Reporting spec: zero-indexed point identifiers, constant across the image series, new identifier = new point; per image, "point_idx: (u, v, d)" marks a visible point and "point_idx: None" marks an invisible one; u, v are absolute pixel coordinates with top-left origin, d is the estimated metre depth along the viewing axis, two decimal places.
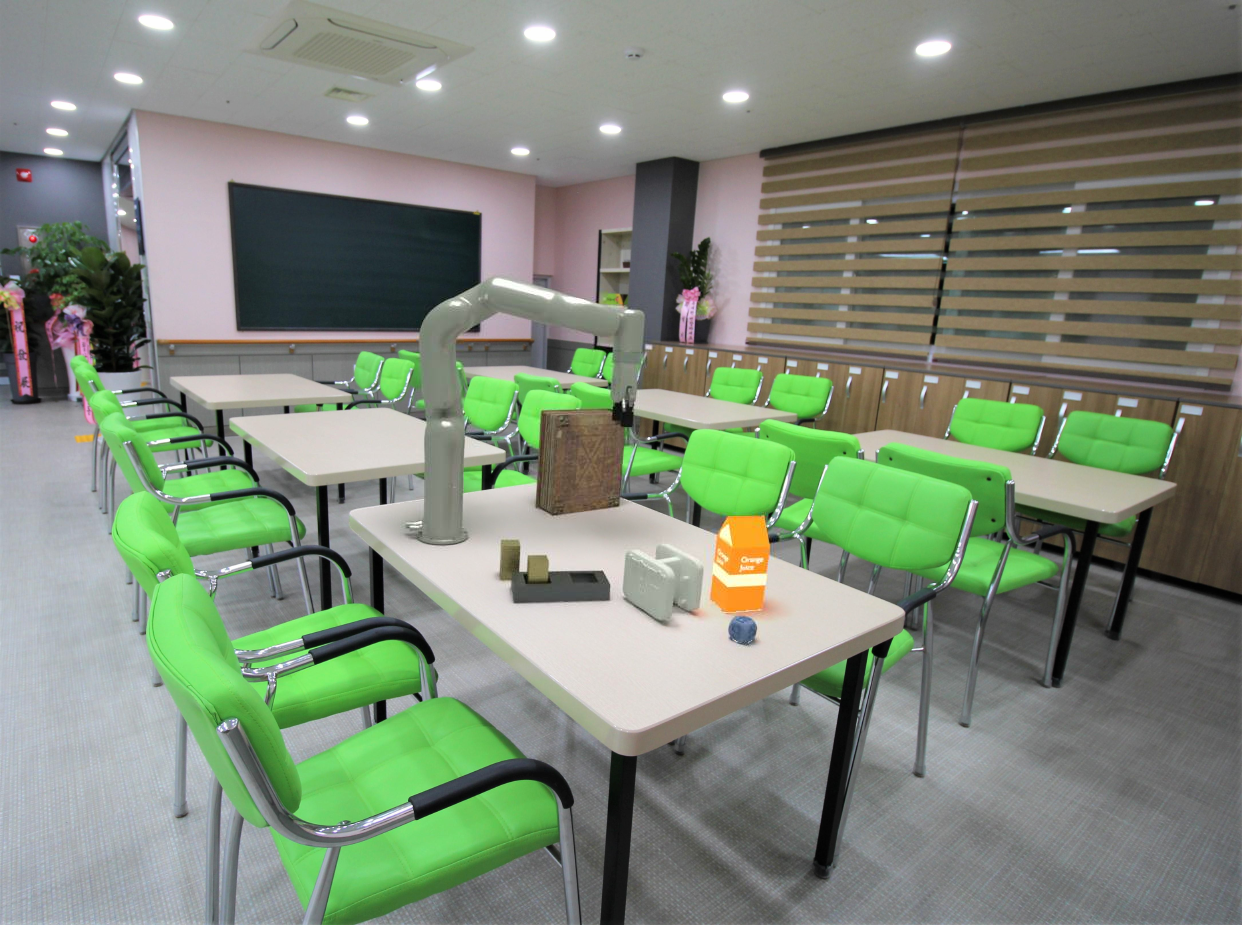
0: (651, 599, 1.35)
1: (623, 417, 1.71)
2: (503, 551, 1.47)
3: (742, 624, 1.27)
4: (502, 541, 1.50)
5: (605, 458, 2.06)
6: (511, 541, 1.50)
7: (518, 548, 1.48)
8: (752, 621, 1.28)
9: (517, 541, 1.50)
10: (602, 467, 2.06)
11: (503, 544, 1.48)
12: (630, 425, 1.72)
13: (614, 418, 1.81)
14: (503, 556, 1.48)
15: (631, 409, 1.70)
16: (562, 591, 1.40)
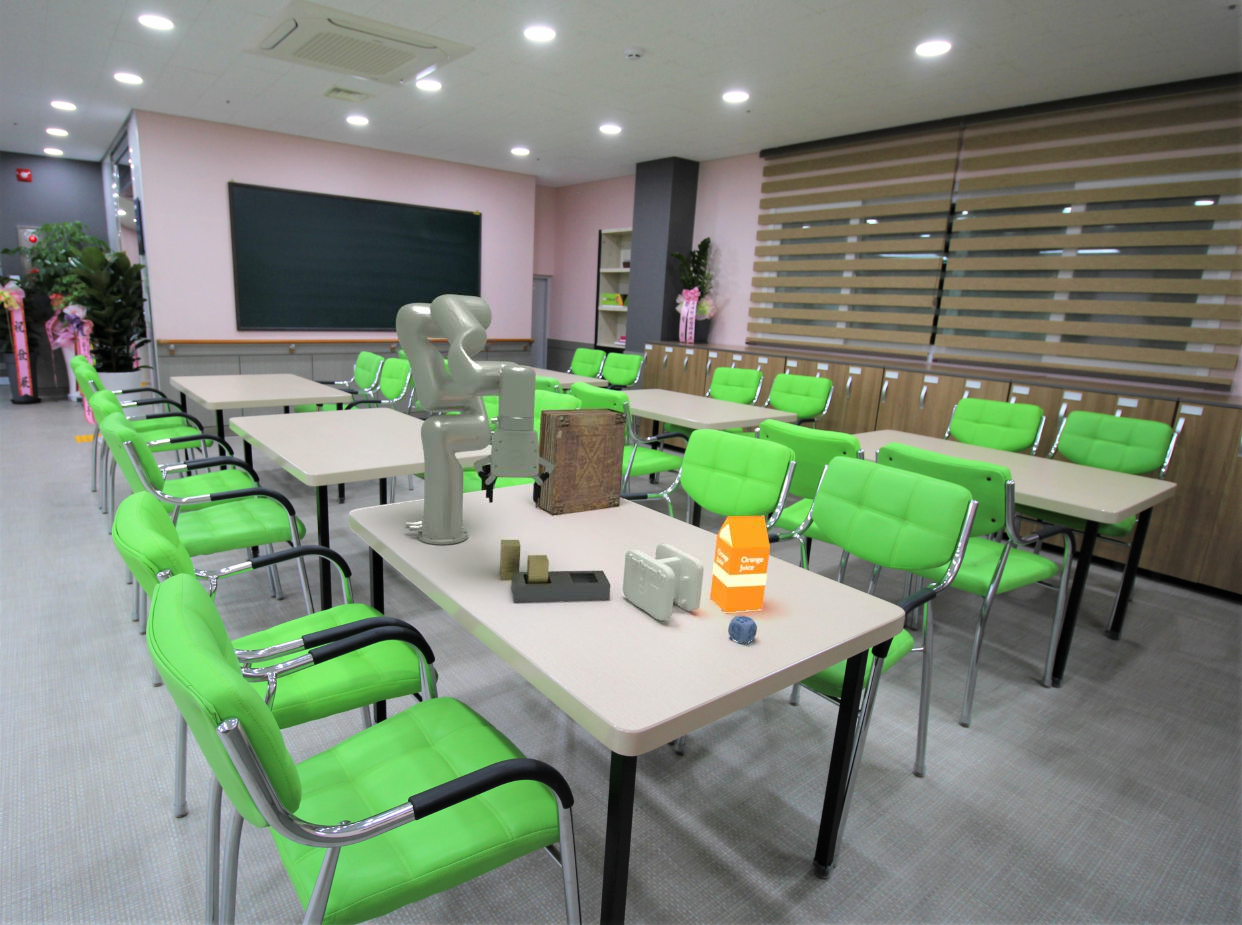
0: (651, 599, 1.35)
1: (537, 491, 1.47)
2: (503, 551, 1.47)
3: (742, 624, 1.27)
4: (502, 541, 1.50)
5: (605, 458, 2.06)
6: (511, 541, 1.50)
7: (518, 548, 1.48)
8: (752, 621, 1.28)
9: (517, 541, 1.51)
10: (602, 467, 2.06)
11: (503, 544, 1.48)
12: None
13: (492, 499, 1.45)
14: (503, 556, 1.48)
15: None
16: (562, 591, 1.40)
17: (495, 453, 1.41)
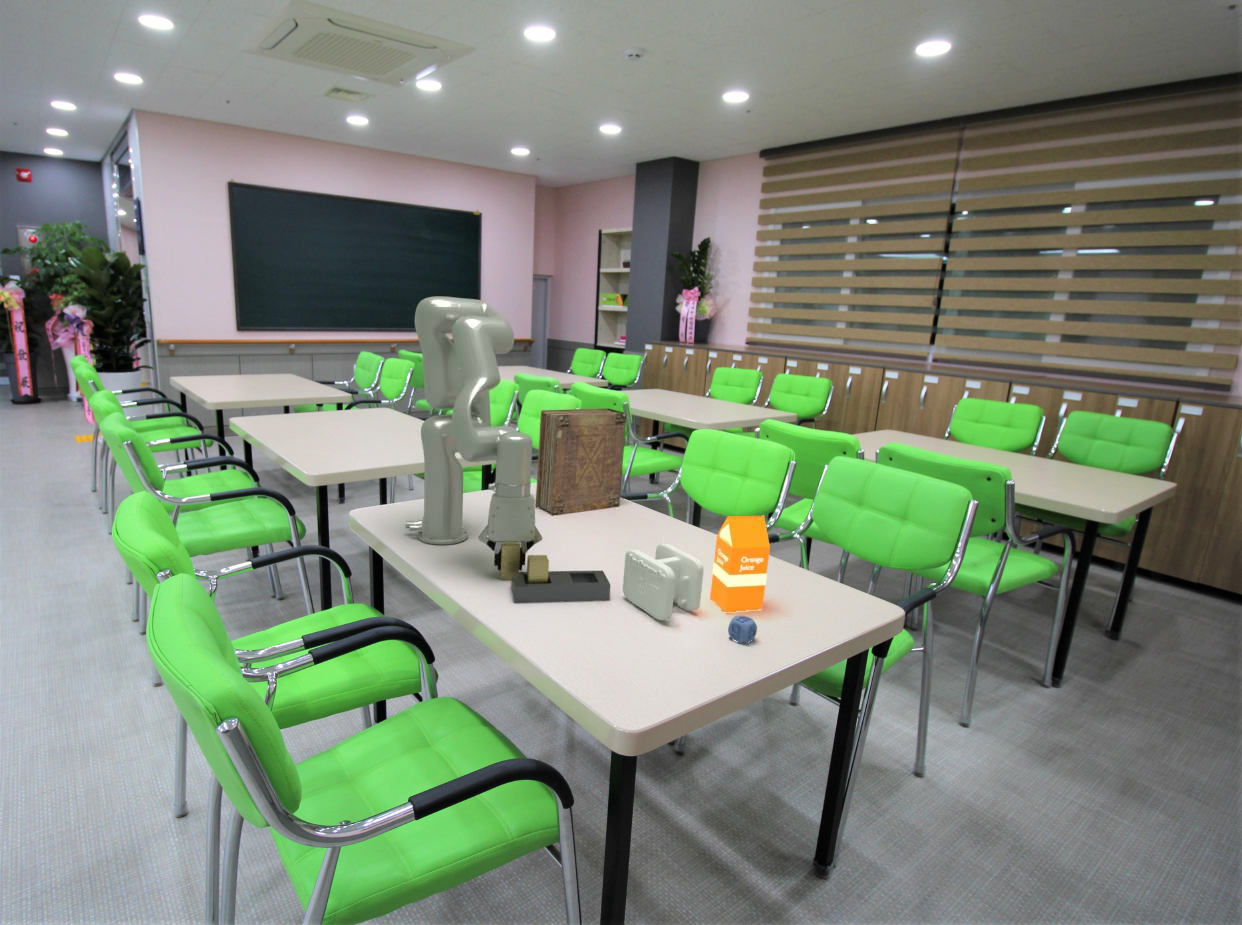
0: (651, 599, 1.35)
1: None
2: (503, 551, 1.47)
3: (742, 624, 1.27)
4: None
5: (605, 458, 2.06)
6: None
7: (518, 548, 1.48)
8: (752, 621, 1.28)
9: None
10: (602, 467, 2.06)
11: (503, 544, 1.48)
12: None
13: None
14: (503, 556, 1.48)
15: None
16: (562, 591, 1.40)
17: (492, 519, 1.45)
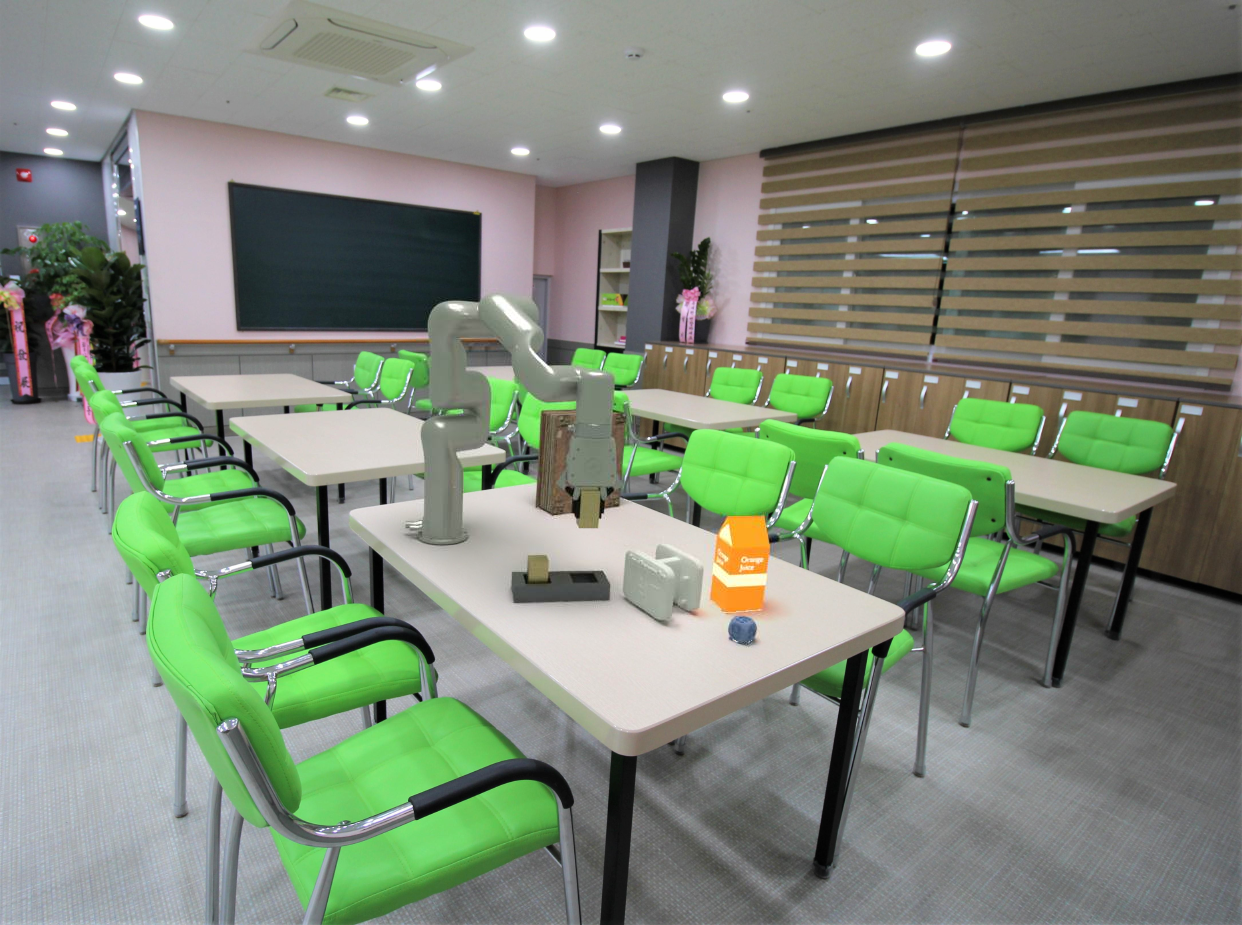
0: (651, 598, 1.35)
1: (601, 506, 1.41)
2: (582, 497, 1.38)
3: (742, 624, 1.27)
4: None
5: None
6: (590, 487, 1.41)
7: (598, 494, 1.39)
8: (752, 621, 1.28)
9: (596, 487, 1.41)
10: None
11: (582, 490, 1.39)
12: None
13: None
14: (582, 502, 1.38)
15: None
16: (562, 591, 1.40)
17: (572, 462, 1.35)
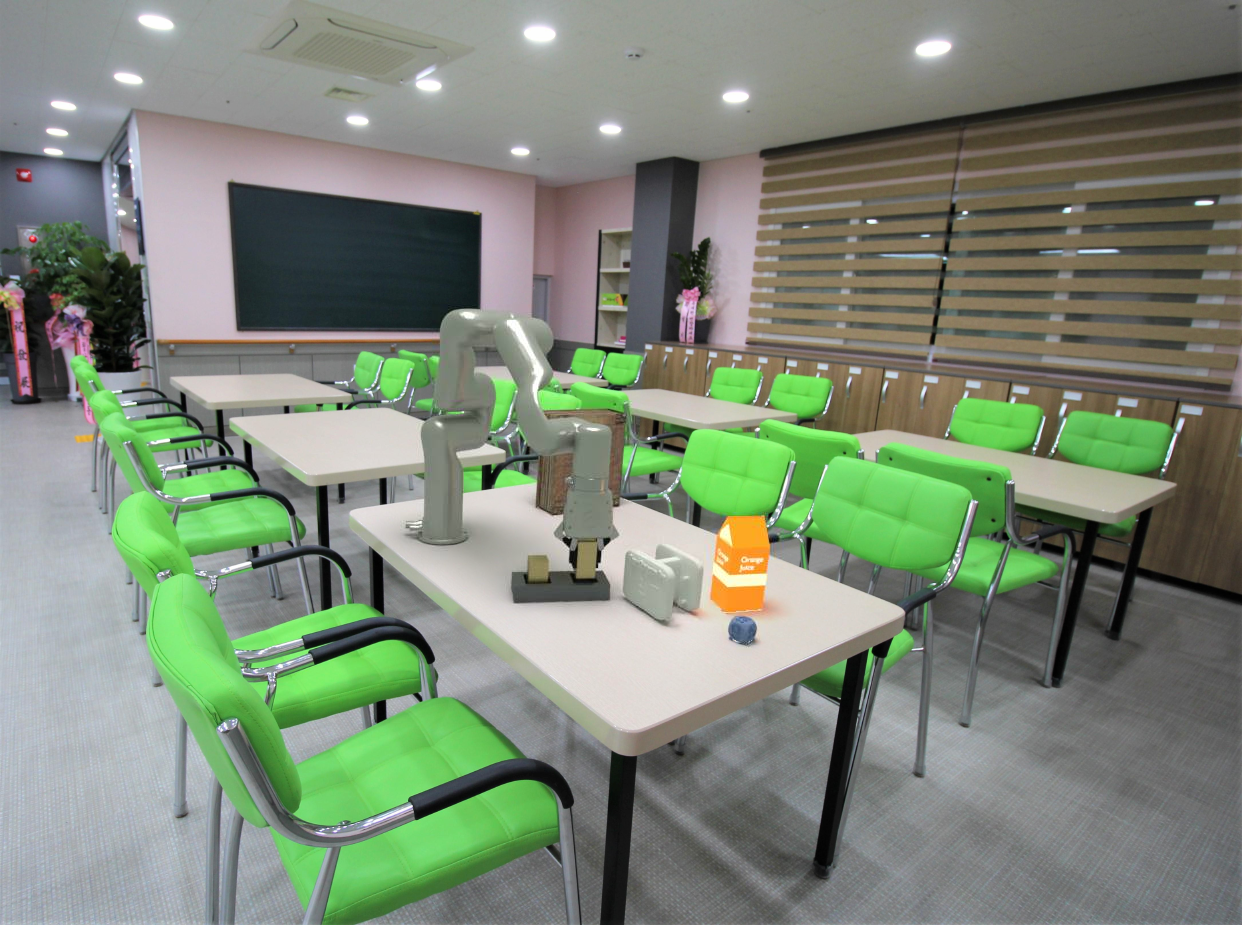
0: (651, 598, 1.35)
1: (598, 556, 1.43)
2: (579, 548, 1.40)
3: (742, 624, 1.27)
4: None
5: None
6: None
7: (595, 545, 1.41)
8: (752, 621, 1.28)
9: None
10: None
11: (579, 541, 1.41)
12: None
13: (576, 565, 1.42)
14: (579, 553, 1.41)
15: None
16: (562, 591, 1.40)
17: (570, 514, 1.38)
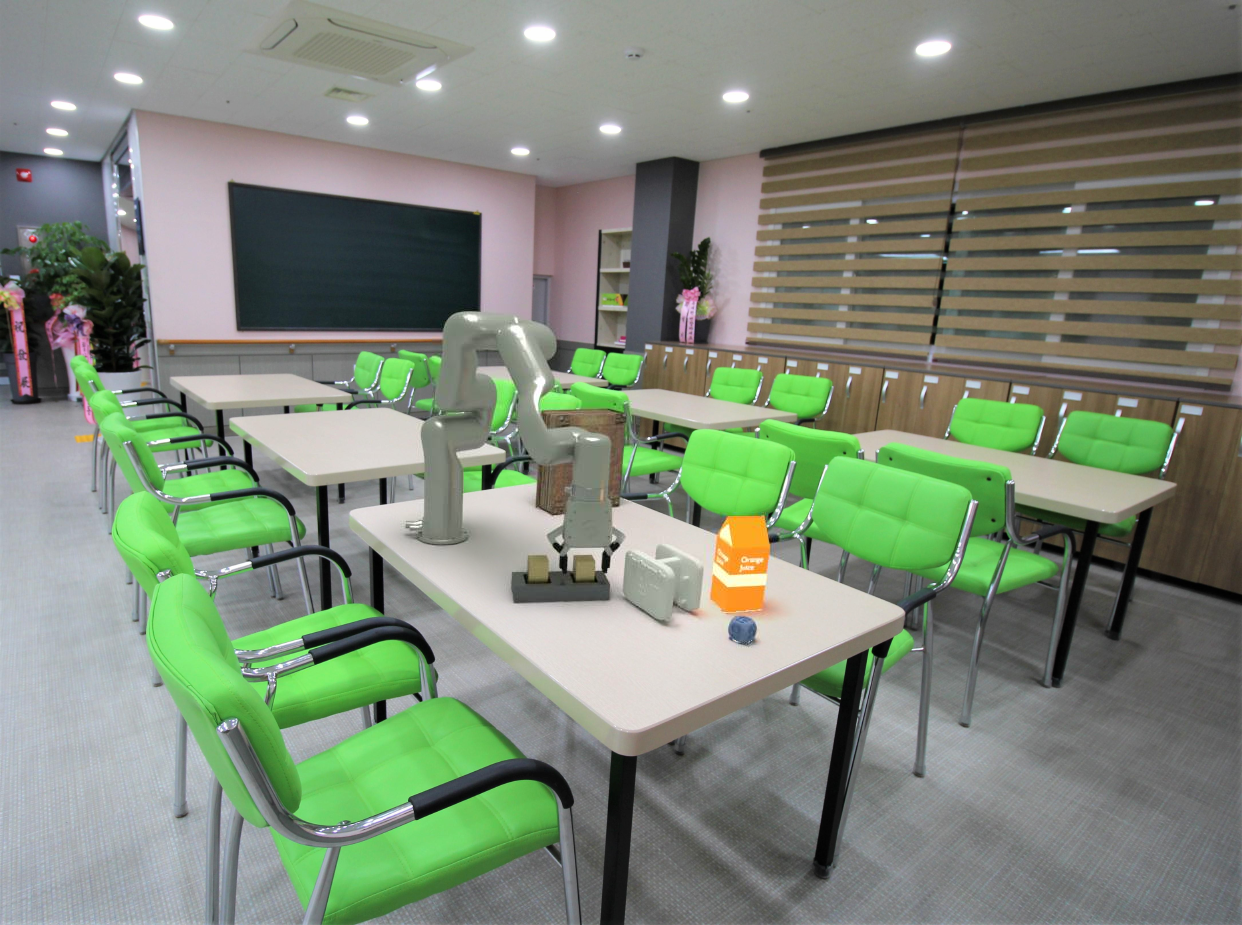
0: (651, 598, 1.35)
1: (607, 561, 1.44)
2: (578, 567, 1.41)
3: (742, 624, 1.27)
4: (575, 556, 1.44)
5: None
6: (585, 557, 1.44)
7: (593, 564, 1.42)
8: (752, 621, 1.28)
9: (590, 556, 1.45)
10: None
11: (577, 560, 1.42)
12: None
13: (566, 570, 1.42)
14: (578, 572, 1.42)
15: None
16: (562, 591, 1.40)
17: (569, 524, 1.38)
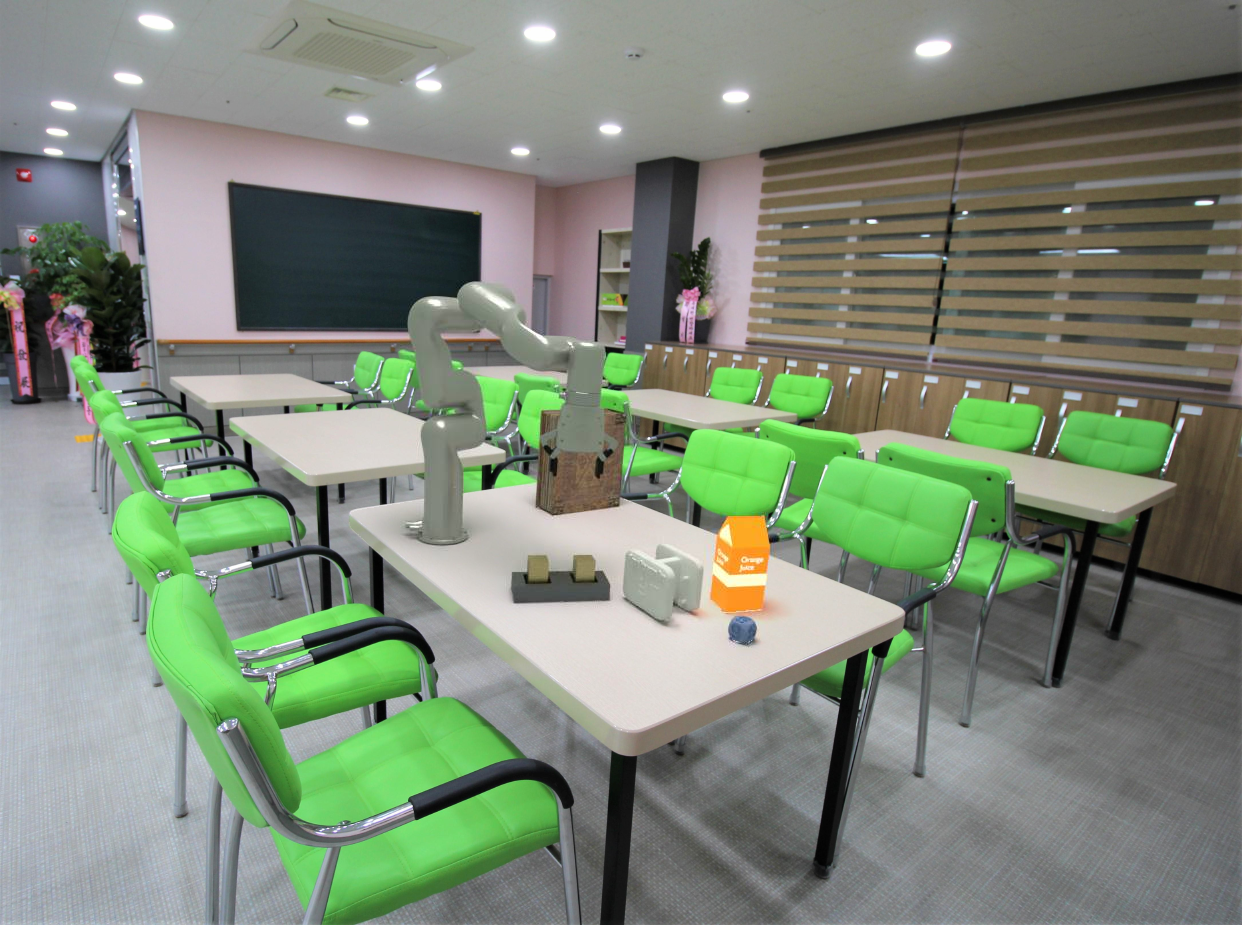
0: (651, 598, 1.35)
1: (600, 467, 1.48)
2: (578, 567, 1.41)
3: (742, 624, 1.27)
4: (575, 556, 1.44)
5: None
6: (585, 557, 1.44)
7: (593, 564, 1.42)
8: (752, 621, 1.28)
9: (590, 556, 1.45)
10: None
11: (577, 560, 1.42)
12: None
13: (556, 473, 1.46)
14: (578, 572, 1.42)
15: None
16: (562, 591, 1.40)
17: (562, 427, 1.43)
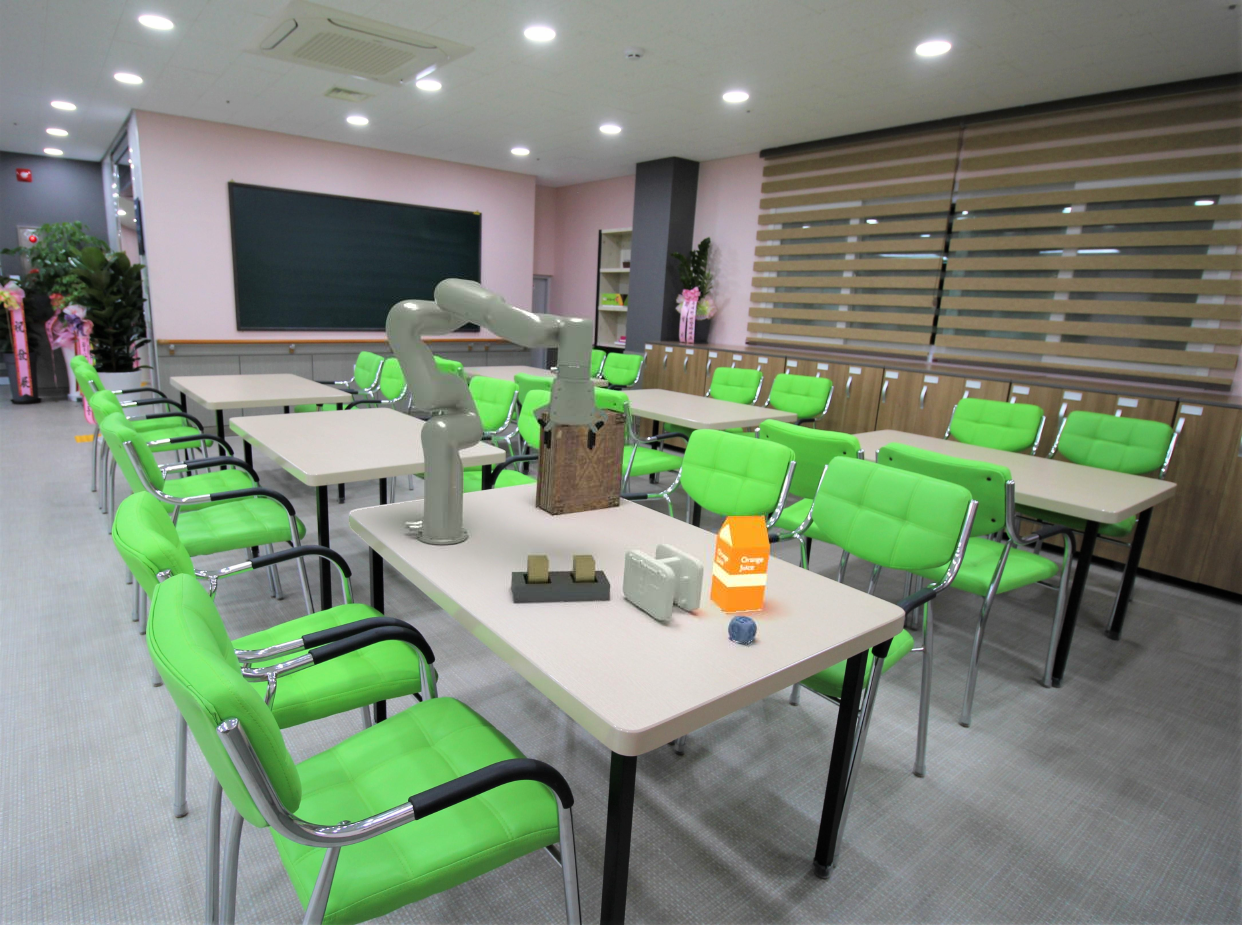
0: (651, 599, 1.35)
1: (592, 439, 1.54)
2: (578, 567, 1.41)
3: (742, 624, 1.27)
4: (575, 556, 1.44)
5: (605, 458, 2.06)
6: (585, 557, 1.44)
7: (593, 564, 1.42)
8: (752, 621, 1.28)
9: (590, 556, 1.45)
10: (602, 467, 2.06)
11: (577, 560, 1.42)
12: None
13: (550, 445, 1.53)
14: (578, 572, 1.42)
15: None
16: (562, 591, 1.40)
17: (554, 400, 1.49)
